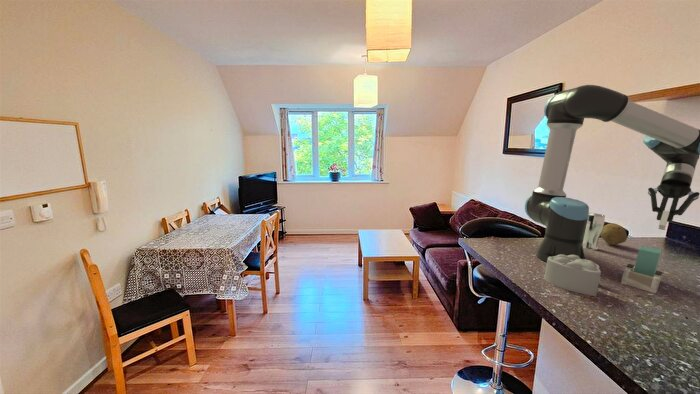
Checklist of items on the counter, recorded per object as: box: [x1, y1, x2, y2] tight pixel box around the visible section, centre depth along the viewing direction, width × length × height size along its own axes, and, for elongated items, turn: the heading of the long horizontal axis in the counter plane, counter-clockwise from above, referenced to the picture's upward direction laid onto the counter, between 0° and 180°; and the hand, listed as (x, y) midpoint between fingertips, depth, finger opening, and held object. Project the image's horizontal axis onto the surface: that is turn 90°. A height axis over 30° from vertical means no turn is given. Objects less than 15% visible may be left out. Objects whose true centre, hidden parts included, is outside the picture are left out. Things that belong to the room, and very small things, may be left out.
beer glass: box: [583, 212, 606, 251], centre depth 122 cm, size 7×7×15 cm
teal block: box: [633, 245, 662, 277], centre depth 91 cm, size 6×4×10 cm
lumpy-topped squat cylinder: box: [543, 254, 602, 296], centre depth 89 cm, size 10×13×9 cm
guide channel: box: [620, 263, 663, 294], centre depth 89 cm, size 16×10×6 cm, turn 128°
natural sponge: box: [600, 222, 628, 246], centre depth 127 cm, size 9×9×10 cm
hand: (661, 227), depth 100 cm, fingers closed
